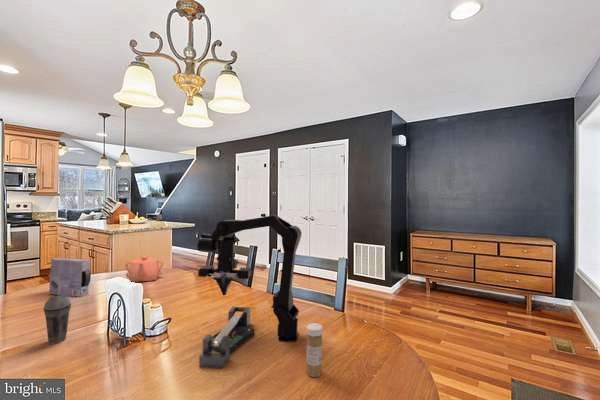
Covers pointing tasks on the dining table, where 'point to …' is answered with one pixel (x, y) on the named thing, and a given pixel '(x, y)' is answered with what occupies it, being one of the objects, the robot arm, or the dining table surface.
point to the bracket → (222, 342)
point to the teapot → (143, 269)
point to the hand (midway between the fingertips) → (224, 294)
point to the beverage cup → (57, 316)
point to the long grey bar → (227, 329)
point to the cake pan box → (70, 277)
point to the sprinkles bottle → (314, 349)
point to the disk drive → (236, 337)
